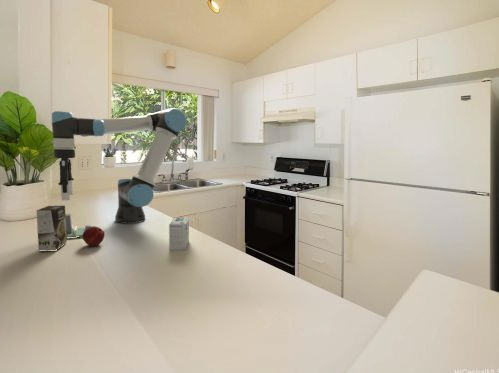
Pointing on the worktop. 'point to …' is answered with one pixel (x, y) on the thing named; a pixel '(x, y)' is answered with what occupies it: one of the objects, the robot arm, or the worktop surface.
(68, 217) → the plug
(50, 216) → the coffee box
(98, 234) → the apple
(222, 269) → the worktop surface
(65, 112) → the robot arm
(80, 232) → the board
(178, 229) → the light bulb box
